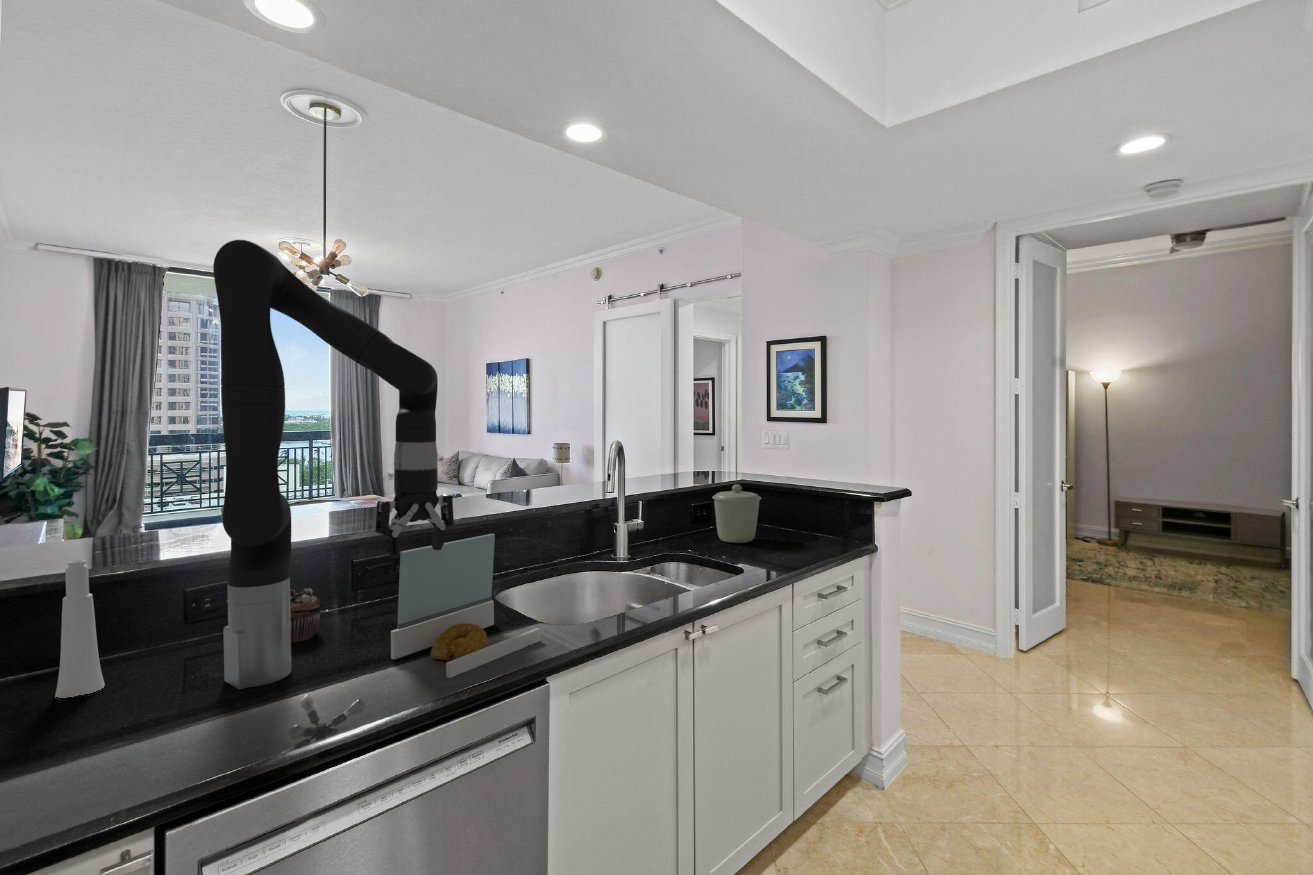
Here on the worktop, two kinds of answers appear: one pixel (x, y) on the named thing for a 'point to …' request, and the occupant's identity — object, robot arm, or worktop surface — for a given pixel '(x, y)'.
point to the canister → (736, 515)
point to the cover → (444, 579)
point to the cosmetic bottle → (78, 637)
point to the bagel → (459, 641)
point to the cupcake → (303, 614)
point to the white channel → (479, 615)
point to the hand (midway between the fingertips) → (416, 553)
